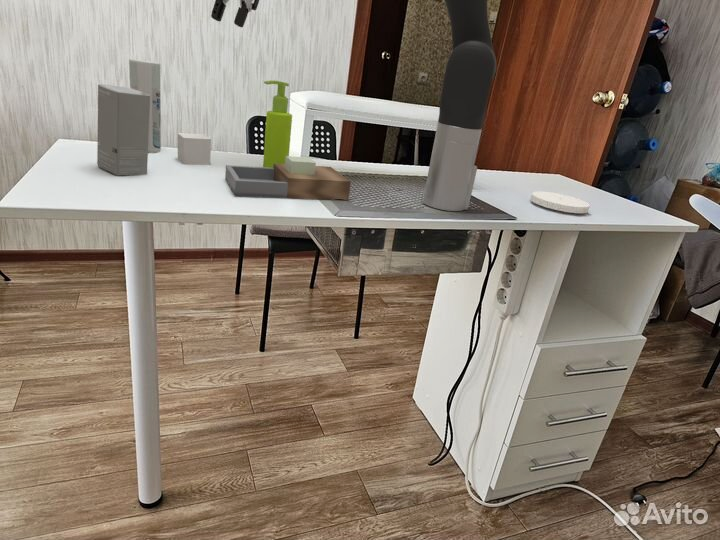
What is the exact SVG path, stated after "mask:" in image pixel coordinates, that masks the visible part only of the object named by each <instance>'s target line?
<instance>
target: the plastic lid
mask: <svg viewBox="0 0 720 540" xmlns="http://www.w3.org/2000/svg"><path fill="white" fill-rule="evenodd" d="M529 199H530V202H533V203H534V204H536V205H539V206H541V207H544V208H548V209H551V210H556V211H561V212H565V213H572V214H586V213H588V212H589V209H590V208H591V205H590V203H588V202H587V201H586V200H585V201H584V200H582V199H579V198H578V197H573V196H570V195H566V194H562V193H558V192H557V193H556V192H552V191H551V192H550V191H540V190H539V191H532V192H531V196H530V198H529Z"/></svg>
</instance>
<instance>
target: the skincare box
mask: <svg viewBox="0 0 720 540" xmlns="http://www.w3.org/2000/svg"><path fill="white" fill-rule="evenodd" d="M149 112H150V95H148V94H145V93H142V92H141V91H138V90H134V89H132V88H130V86H129V87H128V86H127V87H126V86H119V85H110V84H103V83H101V84H97V148H96V149H97V152H96V153H97V159H96V160H97V161H96V164H97V166H98V168H100V169H103V170H105V171H107V172H109V173H111V174H114V175H115V176H119V177H120V176H122V177H123V176H140V175H142V176H143V175H147V174H148V162H149V161H148V159H149V153H148V136H149Z"/></svg>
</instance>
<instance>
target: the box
mask: <svg viewBox="0 0 720 540" xmlns="http://www.w3.org/2000/svg"><path fill="white" fill-rule="evenodd" d="M224 177H225V181H226V183H227V185H228V187H229V189H230V190H231V192H232V193H233V196H234V197H240V198H241V197H244V198H246V197H247V198H269V199H270V198H272V199H273V198H275V199H288V198H287V190H288V183H287V182H278V181H274V168H267V167H263V166H250V165H249V166H248V165H247V166H246V165H232V164H231V165H230V164H229V165H228V164H225V176H224Z"/></svg>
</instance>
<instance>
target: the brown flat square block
mask: <svg viewBox="0 0 720 540" xmlns="http://www.w3.org/2000/svg"><path fill="white" fill-rule="evenodd" d="M273 168H274V181H278V182H287V183H288V190H287V198H286V199H297V200H298V199H299V200H300V199H301V200H322V201H323V200H325V201H326V199H344V200H343V201H349V200H350V199H349V198H350V193H351V192H350V191H351V185H352V184H351V180H349V179H348V178H347V177H345V176H344V175H342V174H341V173H340V172H339V171H338V170H336V169H335V168H333V167H332V166H323V165H321V166H320V165H316V167H315V175H307V174H291V173H290V172H289V171H288V170H287V169H286V168H285V164H277V163H274V165H273Z"/></svg>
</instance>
